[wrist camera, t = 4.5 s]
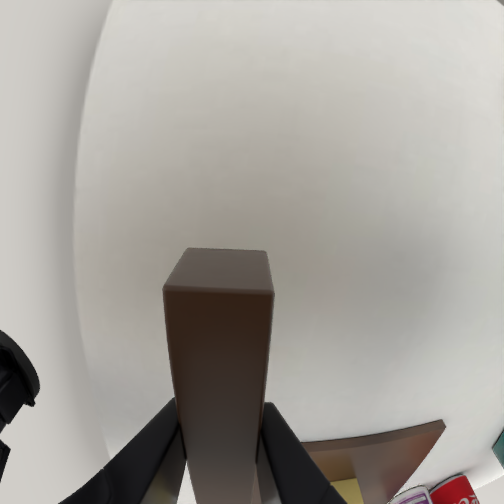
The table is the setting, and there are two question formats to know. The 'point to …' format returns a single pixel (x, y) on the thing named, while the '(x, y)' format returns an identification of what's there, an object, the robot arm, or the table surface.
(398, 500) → the pill bottle
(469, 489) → the beverage can
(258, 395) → the brown and silver rod
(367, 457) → the butter board
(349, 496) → the butter pat
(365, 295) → the table surface
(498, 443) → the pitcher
